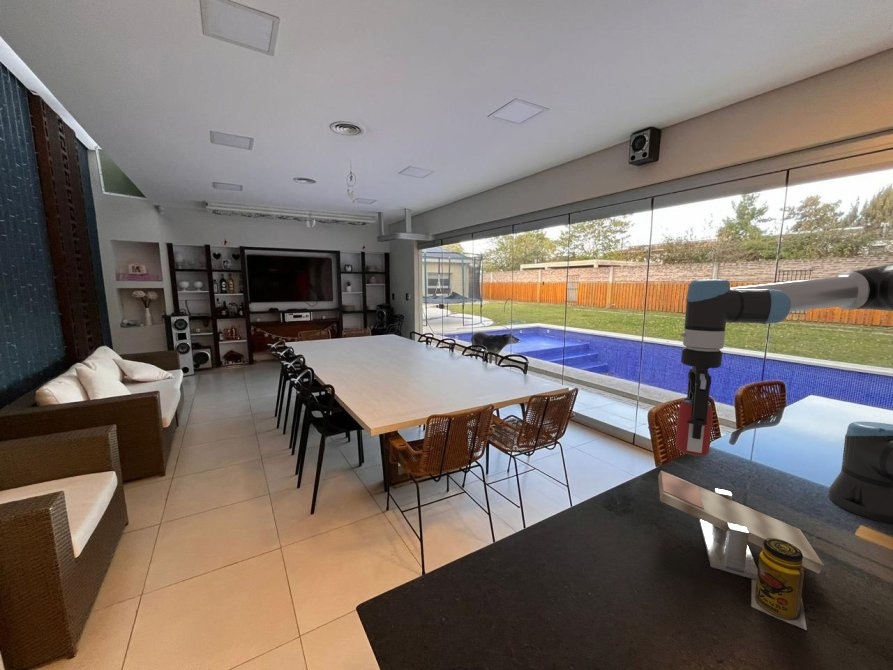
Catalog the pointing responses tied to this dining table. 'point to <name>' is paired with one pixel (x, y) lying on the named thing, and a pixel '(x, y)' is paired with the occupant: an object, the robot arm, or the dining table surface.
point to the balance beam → (733, 516)
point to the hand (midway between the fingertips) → (692, 445)
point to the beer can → (683, 428)
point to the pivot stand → (729, 546)
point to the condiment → (780, 582)
